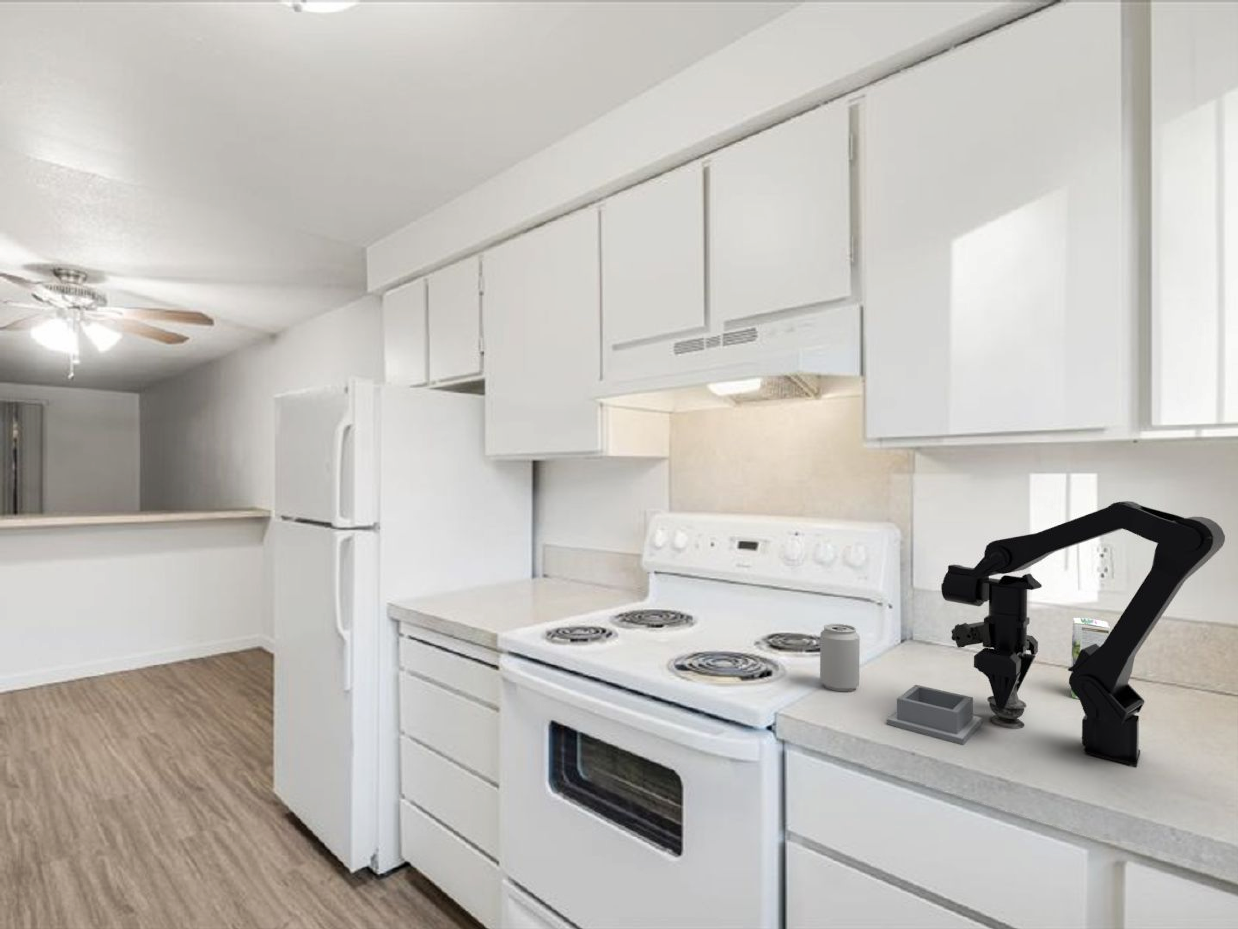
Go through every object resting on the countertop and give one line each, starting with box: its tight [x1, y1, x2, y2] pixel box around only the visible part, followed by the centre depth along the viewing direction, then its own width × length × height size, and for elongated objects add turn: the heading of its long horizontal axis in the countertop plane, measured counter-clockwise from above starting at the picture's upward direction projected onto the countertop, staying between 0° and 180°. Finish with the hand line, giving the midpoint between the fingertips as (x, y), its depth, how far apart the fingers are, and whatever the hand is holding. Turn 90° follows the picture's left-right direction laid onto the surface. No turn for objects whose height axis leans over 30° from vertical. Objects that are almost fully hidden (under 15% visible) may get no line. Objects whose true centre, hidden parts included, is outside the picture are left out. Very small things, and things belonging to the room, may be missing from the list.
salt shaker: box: [987, 680, 1027, 730], centre depth 115 cm, size 6×6×12 cm
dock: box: [886, 684, 984, 745], centre depth 114 cm, size 12×12×4 cm
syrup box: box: [1070, 617, 1111, 700], centre depth 127 cm, size 6×6×14 cm
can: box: [819, 623, 861, 692], centre depth 133 cm, size 8×8×12 cm
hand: (1006, 701), depth 115 cm, fingers closed on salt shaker, 8 cm apart
